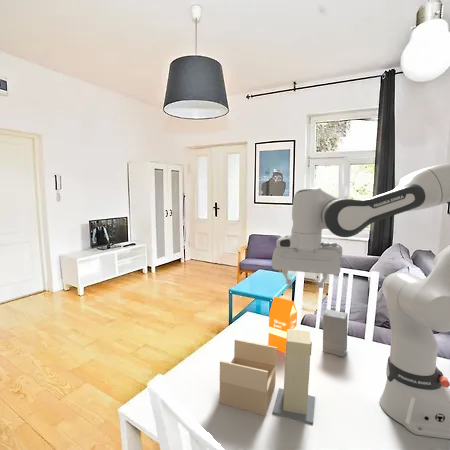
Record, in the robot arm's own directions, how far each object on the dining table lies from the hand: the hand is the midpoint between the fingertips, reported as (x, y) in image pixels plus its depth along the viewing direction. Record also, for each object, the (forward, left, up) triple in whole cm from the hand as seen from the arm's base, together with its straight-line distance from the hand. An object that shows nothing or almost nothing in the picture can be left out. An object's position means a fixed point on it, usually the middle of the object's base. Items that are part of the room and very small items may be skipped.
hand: (304, 285), depth 91 cm
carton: (+15, +9, -34) cm, 38 cm away
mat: (+1, +9, -34) cm, 35 cm away
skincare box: (-10, -28, -34) cm, 46 cm away
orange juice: (+10, -24, -34) cm, 43 cm away
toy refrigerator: (0, +9, -34) cm, 35 cm away
